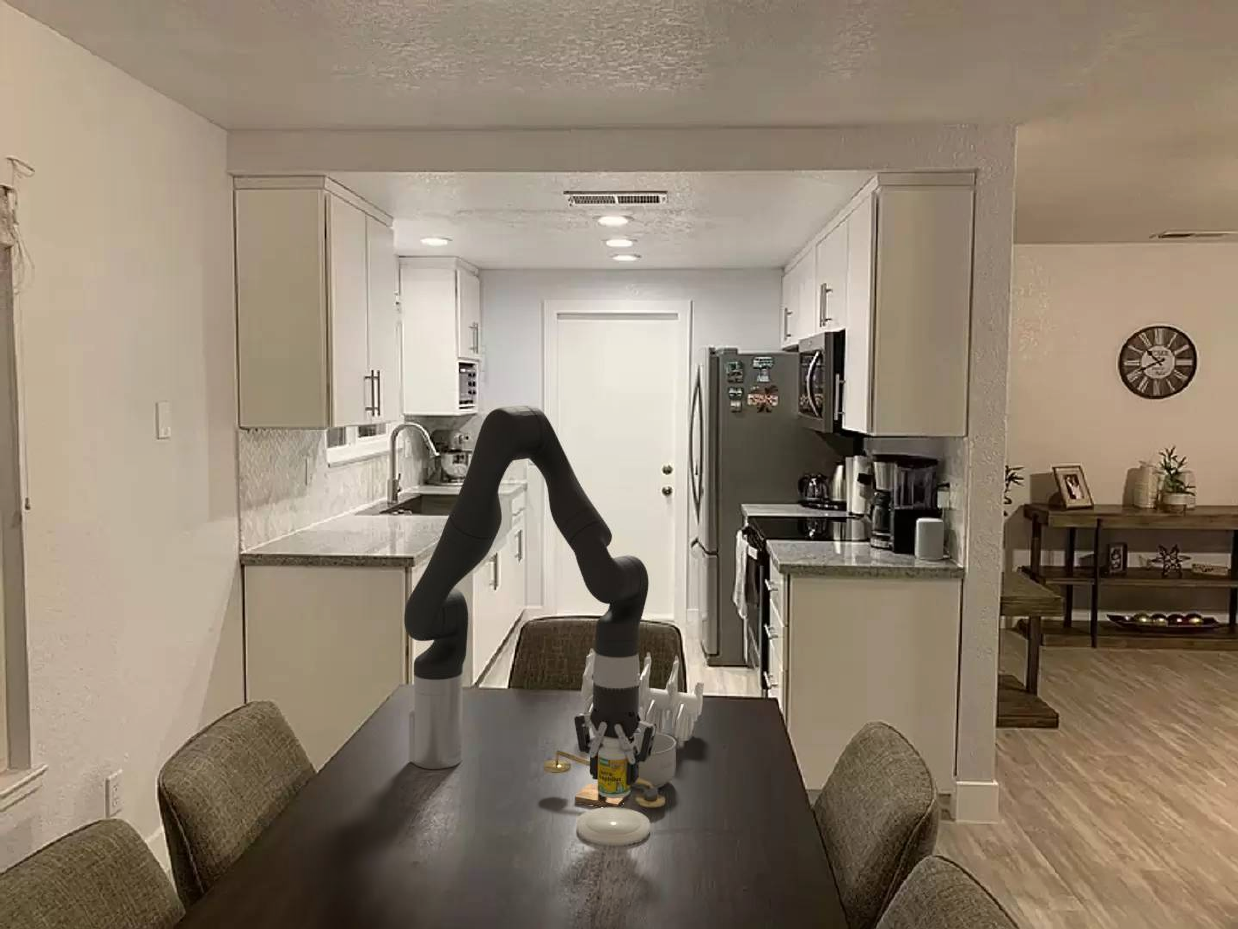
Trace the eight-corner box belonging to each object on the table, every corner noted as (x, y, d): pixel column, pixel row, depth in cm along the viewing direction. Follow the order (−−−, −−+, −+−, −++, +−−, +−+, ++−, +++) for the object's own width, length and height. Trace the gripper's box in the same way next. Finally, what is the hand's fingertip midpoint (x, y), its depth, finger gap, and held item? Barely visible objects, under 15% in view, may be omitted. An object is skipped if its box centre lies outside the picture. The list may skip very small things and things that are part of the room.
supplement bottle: (634, 788, 165) (635, 732, 165) (624, 801, 160) (625, 742, 160) (603, 784, 167) (604, 728, 166) (592, 796, 162) (593, 738, 161)
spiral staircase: (693, 769, 202) (574, 750, 207) (707, 708, 216) (595, 692, 222) (693, 701, 193) (568, 683, 198) (708, 643, 207) (592, 627, 213)
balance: (536, 796, 177) (537, 753, 176) (551, 783, 183) (551, 742, 182) (658, 818, 169) (659, 773, 168) (669, 805, 174) (670, 761, 174)
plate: (564, 838, 161) (564, 829, 161) (593, 809, 172) (593, 801, 172) (634, 852, 156) (634, 843, 156) (659, 821, 168) (659, 814, 168)
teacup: (670, 798, 177) (671, 754, 177) (610, 792, 180) (611, 748, 179) (681, 769, 191) (682, 728, 190) (625, 763, 193) (626, 723, 193)
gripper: (566, 680, 161) (564, 782, 163) (650, 691, 156) (647, 797, 157) (584, 668, 168) (582, 766, 170) (665, 679, 163) (663, 780, 164)
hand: (614, 780), depth 164 cm, fingers closed on supplement bottle, 5 cm apart
